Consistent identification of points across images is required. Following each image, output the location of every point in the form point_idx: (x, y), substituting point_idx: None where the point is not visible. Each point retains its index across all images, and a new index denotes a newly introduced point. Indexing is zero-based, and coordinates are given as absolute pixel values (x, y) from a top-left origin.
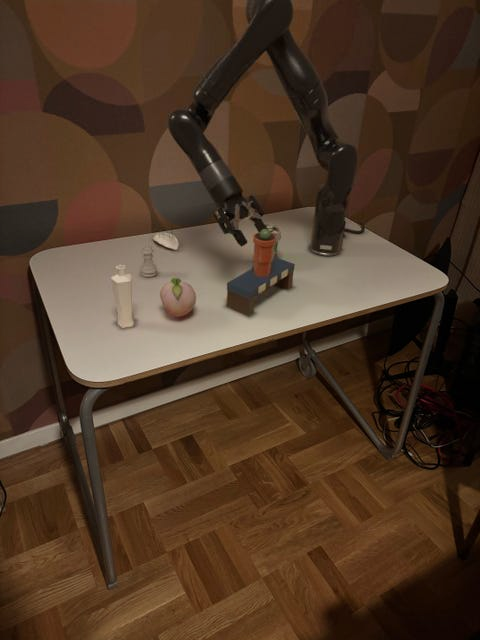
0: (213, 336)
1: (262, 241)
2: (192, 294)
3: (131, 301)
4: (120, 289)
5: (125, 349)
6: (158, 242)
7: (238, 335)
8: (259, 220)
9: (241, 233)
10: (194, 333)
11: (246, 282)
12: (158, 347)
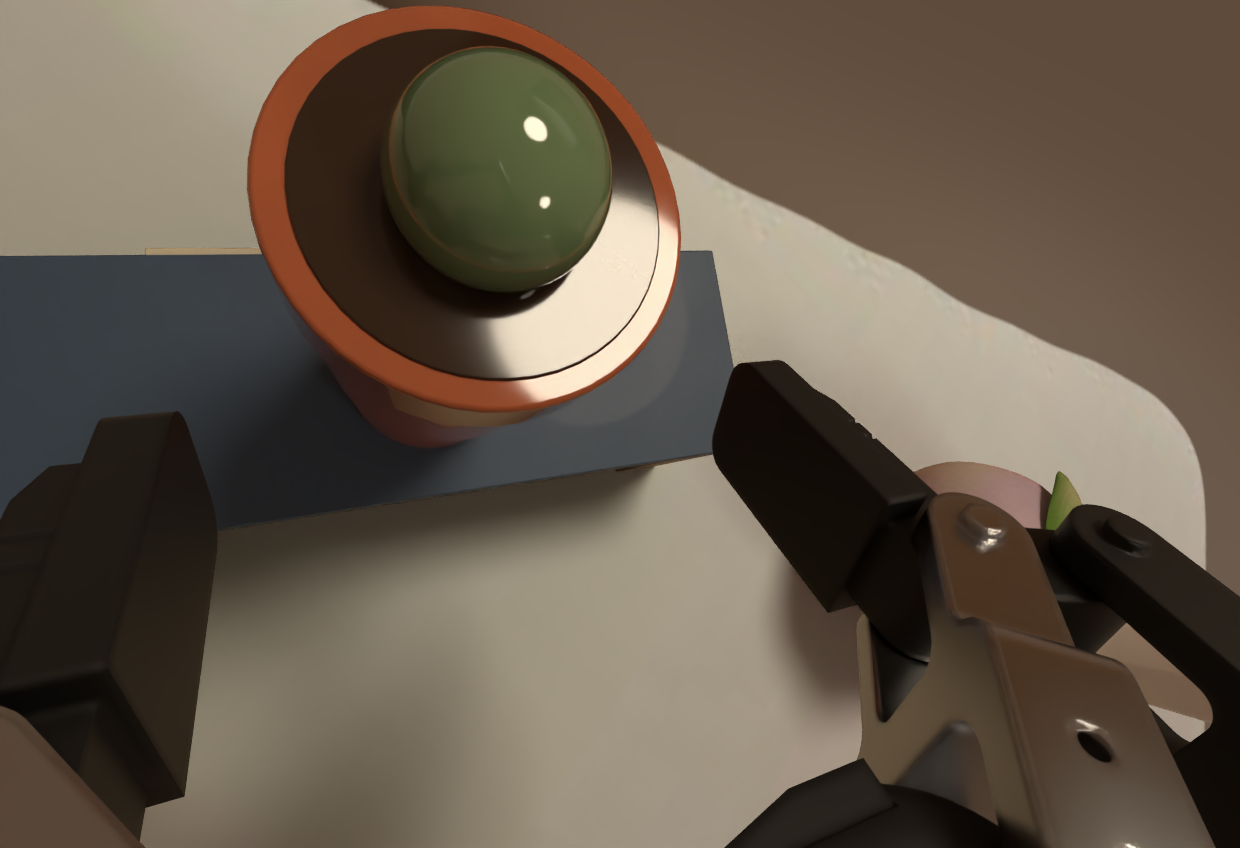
0: (843, 323)
1: (650, 138)
2: (967, 477)
3: (1150, 647)
4: None
5: (1089, 489)
6: None
7: (764, 249)
8: (95, 665)
9: (858, 445)
10: (887, 396)
11: (644, 353)
12: (1013, 420)
